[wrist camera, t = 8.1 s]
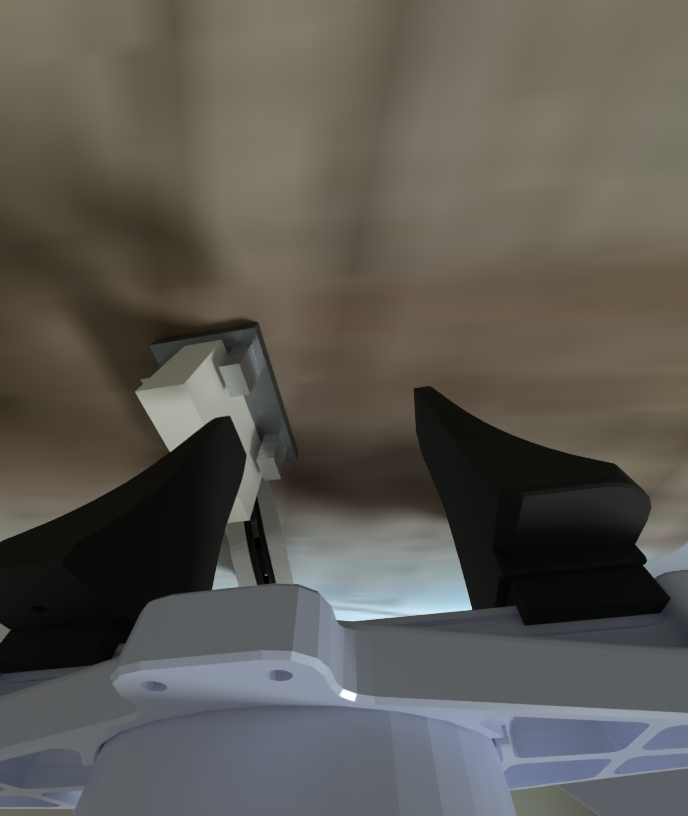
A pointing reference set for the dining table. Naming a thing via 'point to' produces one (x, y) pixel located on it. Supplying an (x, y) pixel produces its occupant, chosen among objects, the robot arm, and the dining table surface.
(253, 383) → the clip bracket
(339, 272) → the dining table surface
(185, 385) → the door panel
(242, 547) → the grey curved block
